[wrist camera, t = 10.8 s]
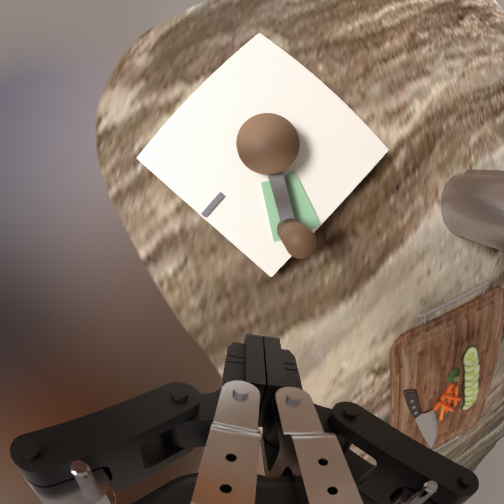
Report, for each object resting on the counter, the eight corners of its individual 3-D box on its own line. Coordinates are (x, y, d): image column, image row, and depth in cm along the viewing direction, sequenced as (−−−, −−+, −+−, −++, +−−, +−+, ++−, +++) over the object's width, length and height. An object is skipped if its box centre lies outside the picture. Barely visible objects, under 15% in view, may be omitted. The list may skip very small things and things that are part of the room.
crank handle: (230, 126, 28) (225, 109, 21) (286, 112, 28) (298, 93, 21) (264, 248, 31) (269, 267, 24) (318, 233, 31) (338, 248, 24)
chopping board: (474, 424, 47) (479, 431, 44) (386, 470, 48) (389, 479, 45) (503, 268, 37) (514, 273, 34) (386, 324, 38) (394, 334, 35)
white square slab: (258, 43, 29) (259, 31, 25) (378, 152, 32) (390, 149, 29) (145, 160, 32) (135, 158, 29) (269, 269, 35) (271, 278, 32)
